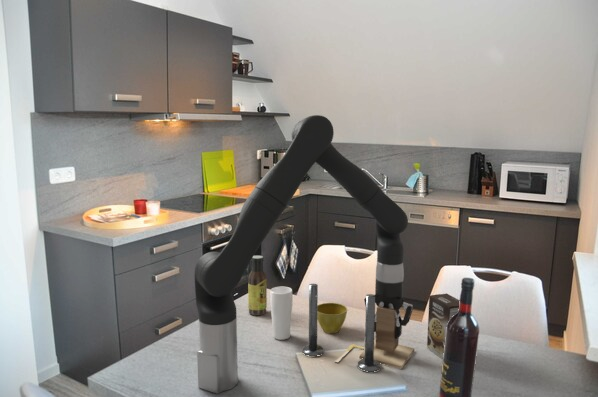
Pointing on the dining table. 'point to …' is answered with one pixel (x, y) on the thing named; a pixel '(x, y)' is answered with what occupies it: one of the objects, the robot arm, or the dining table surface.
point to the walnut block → (386, 329)
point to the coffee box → (440, 320)
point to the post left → (313, 323)
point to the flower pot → (331, 316)
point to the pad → (391, 356)
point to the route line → (355, 347)
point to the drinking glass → (281, 311)
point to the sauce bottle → (257, 287)
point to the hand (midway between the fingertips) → (387, 335)
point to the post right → (369, 337)
